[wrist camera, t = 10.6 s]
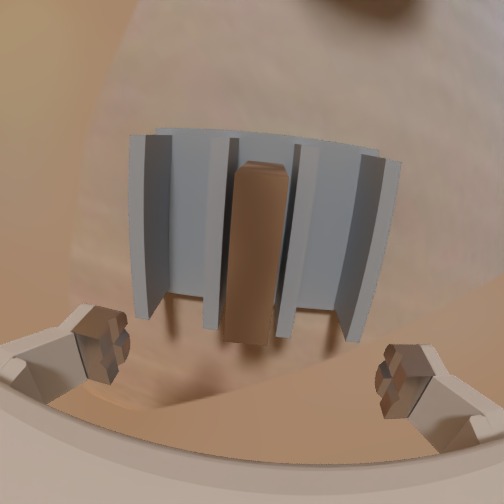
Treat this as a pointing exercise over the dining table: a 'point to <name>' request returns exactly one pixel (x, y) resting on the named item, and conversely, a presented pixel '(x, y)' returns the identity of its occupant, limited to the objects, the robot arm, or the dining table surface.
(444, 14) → the dining table surface
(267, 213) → the board
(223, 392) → the dining table surface
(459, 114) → the dining table surface
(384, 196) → the rack
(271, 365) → the dining table surface
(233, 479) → the robot arm
